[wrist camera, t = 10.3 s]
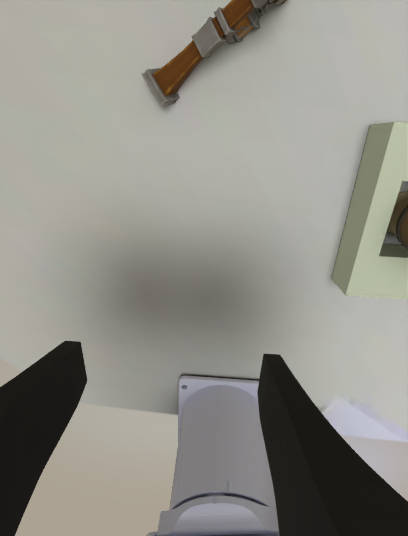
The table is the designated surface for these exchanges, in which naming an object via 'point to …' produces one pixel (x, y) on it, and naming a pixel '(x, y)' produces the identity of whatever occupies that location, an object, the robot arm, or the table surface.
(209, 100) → the table surface
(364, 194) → the board
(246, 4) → the wooden post with brackets
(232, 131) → the table surface
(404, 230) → the peg
